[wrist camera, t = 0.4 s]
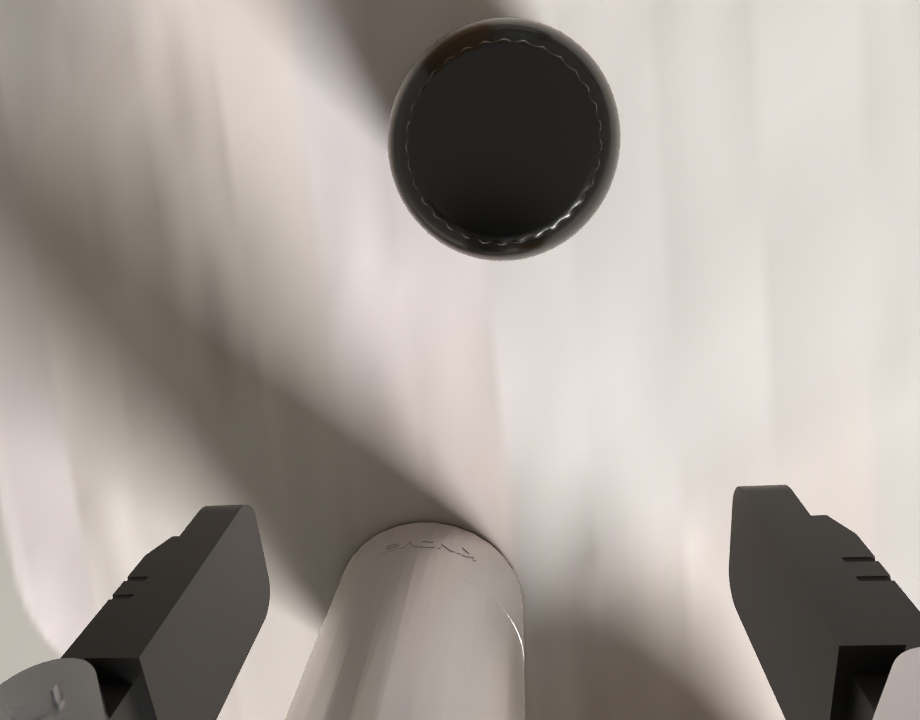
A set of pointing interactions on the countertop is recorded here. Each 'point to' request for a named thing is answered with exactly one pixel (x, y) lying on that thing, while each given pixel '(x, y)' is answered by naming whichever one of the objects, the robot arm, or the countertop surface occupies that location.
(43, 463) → the countertop surface
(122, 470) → the countertop surface
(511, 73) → the supplement bottle
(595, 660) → the countertop surface
